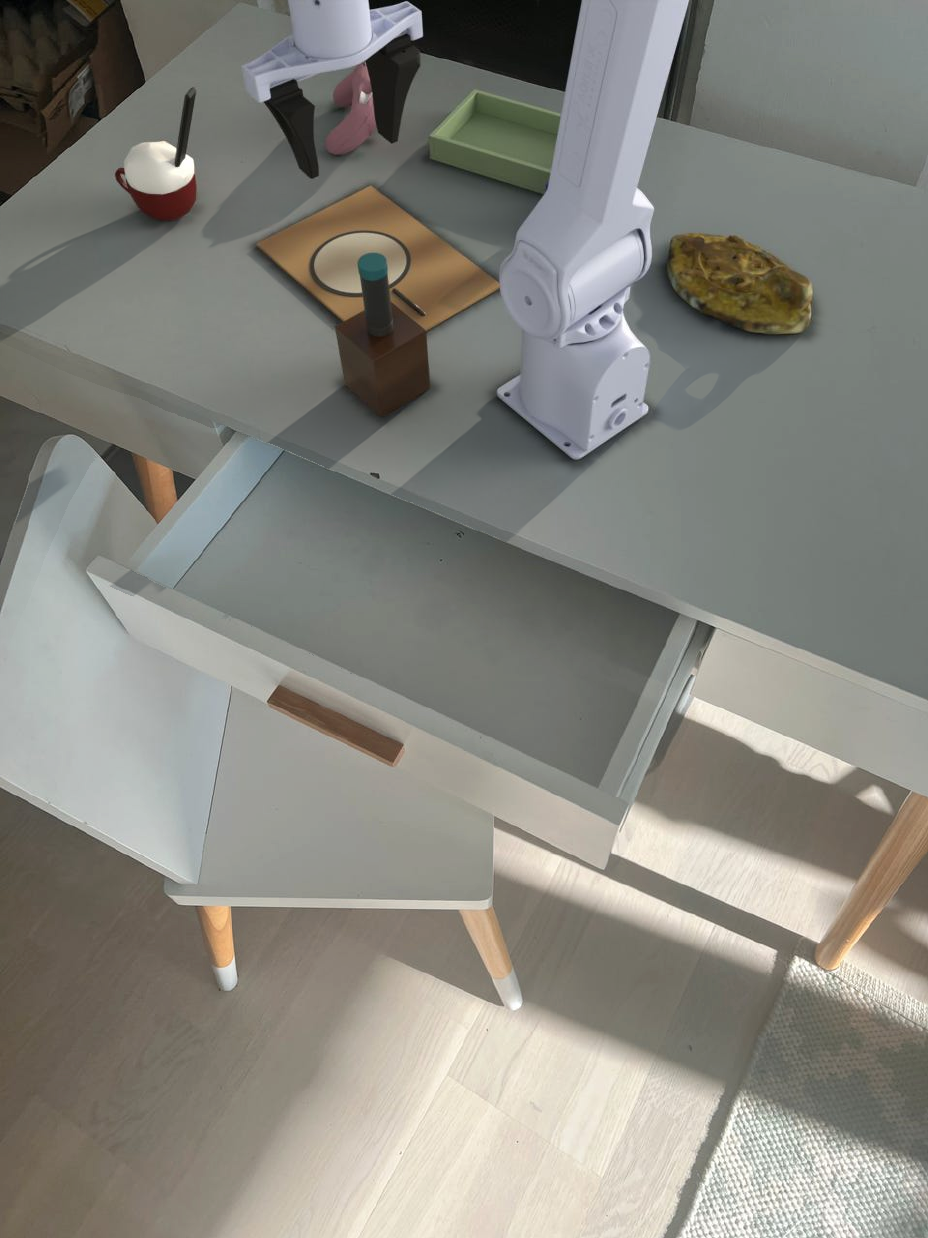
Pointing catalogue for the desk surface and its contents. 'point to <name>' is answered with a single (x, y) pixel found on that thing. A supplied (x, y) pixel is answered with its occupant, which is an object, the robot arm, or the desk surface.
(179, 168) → the cocoa
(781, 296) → the stuffed pastry
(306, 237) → the drawing pad
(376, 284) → the marker
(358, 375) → the tall brown wooden block
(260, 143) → the desk surface
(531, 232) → the robot arm
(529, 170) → the tray
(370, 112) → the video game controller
